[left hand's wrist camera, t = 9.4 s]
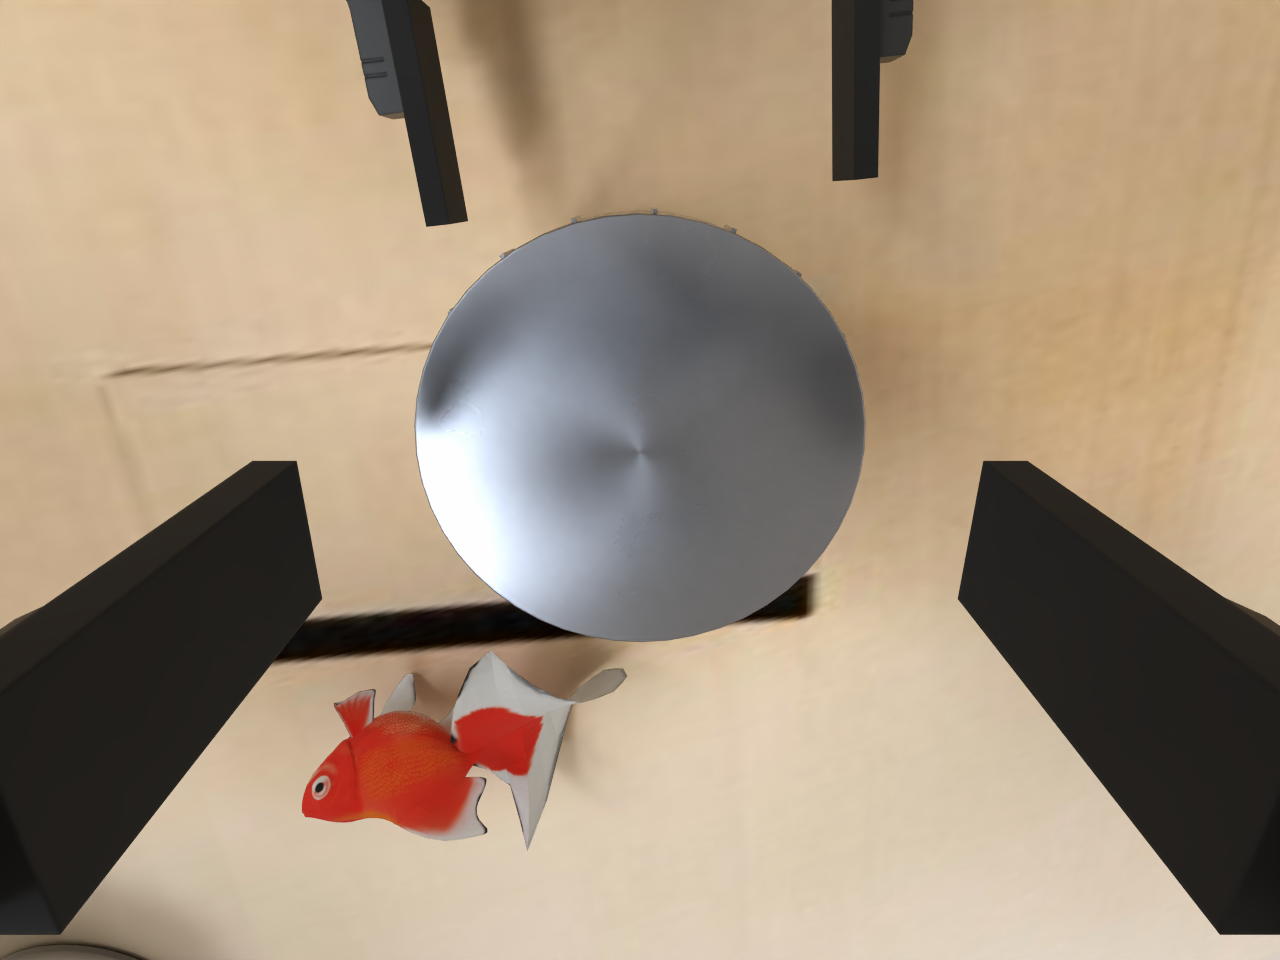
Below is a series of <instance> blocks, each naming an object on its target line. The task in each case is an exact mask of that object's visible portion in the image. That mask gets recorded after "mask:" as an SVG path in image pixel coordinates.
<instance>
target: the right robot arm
mask: <svg viewBox="0 0 1280 960" xmlns="http://www.w3.org/2000/svg"><path fill="white" fill-rule="evenodd" d="M346 1H347V3H348V5H349V9H350V12H351V17H352V21H353V26H354V31H355V35H356V40H357V45H358V50H359V54H360V59H361V61H362V63H361V64H362V68H363V73H364V76H365V82H366V87H367V92H368V96H369V99H370V101H371V102H372V104H373V106H374V108H375V109H376V111H377V113H378V114H379V115H380V116H384V117H387V118H390V119H400V118H405V122H406V127H407V132H408V137H409V142H410V147H411V152H412V157H413V162H414V167H415V172H416V177H417V182H418V187H419V192H420V197H421V202H422V207H423V212H424V217H425V222H426V227H428V226H437V225H446V224H453V223H459V222H465V221H468V218H467V213H466V207H465V201H464V196H463V190H462V185H461V179H460V173H459V168H458V162H457V157H456V151H455V145H454V140H453V134H452V129H451V123H450V118H449V112H448V106H447V101H446V95H445V90H444V84H443V78H442V73H441V67H440V62H439V56H438V50H437V45H436V39H435V34H434V28H433V22H432V17H431V11H430V7H429V6H427V5H426V4H425V3H424V2H423V1H422V0H346ZM912 11H913V0H832V168H833V181H842V180H857V179H866V178H876V177H878V143H879V84H880V63H887V62H891V61H893V60H895V59H897V58H899V57H901V56H903V55H905V53H906V50H907V48H908V45H909V42H910V39H911V37H912V25H913V14H912Z"/></svg>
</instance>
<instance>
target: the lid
mask: <svg viewBox="0 0 1280 960" xmlns="http://www.w3.org/2000/svg"><path fill="white" fill-rule="evenodd" d="M657 211H658V210H657V209H656V208H652V209H651V212H644V211H633V212H621V213H608V214H604V215H599V216H595V217H590V218H586V219H581V216H578V217H575V218H573V219H571V221H572V223H570V224H567V225H565V226H562V227H559V228H557V229H554V230H551V231H549V232H547V233H545V234H542V235H540V236H539V237H537V238H535V239H533V240H531V241H529V242H528V243H526V244H524V245H522V246H520V247H518V248H517V249H515V250H514V249H512V250H509V251H507V252H505V253H503V254H502V255H500V257H501V260H500V261H498V262H497V263H496V264H494V265H493V266H492V267H490V268H489V269H488V270H487V271H486V272H485V273H484V274H483V275H482V276H481V277H480V278H479V279H478V280H477V281H476V282H475V283H474V284H473V285H472V286H471V287H470V288H469V289H468V290H467V291H466V292H465V293H464V295H463V296H462V297H461V299H460V300H459V301H458V303H457V304H456V305H455V307H453V308H452V309H450V310H449V312H448V314H449V315H448V316H447V318H446V320H445V322H444V323H443V325H442V327H441V329H440V331H439V332H438V334H437V336H436V338H435V340H434V342H433V344H432V347H431V349H430V352H429V355H428V357H427V360H426V363H425V365H424V368H423V372H422V376H421V381H420V385H419V390H418V394H417V401H416V414H415V442H416V455H417V460H418V465H419V470H420V475H421V480H422V483H423V486H424V489H425V492H426V495H427V498H428V501H429V504H430V507H431V509H432V511H433V513H434V515H435V517H436V519H437V521H438V523H439V525H440V527H441V529H442V531H443V533H444V534H445V536H446V537H447V538H448V540H449V541H450V543H451V544H452V546H453V547H454V549H455V550H456V552H457V553H458V555H459V556H460V557H461V558H462V559H463V560H464V562H465V563H466V564H467V565H468V566H469V567H470V569H471V570H472V571H473V572H474V573H475V574H476V575H477V576H478V577H479V578H480V579H481V580H482V581H484V582H485V583H486V584H487V585H488V586H489V587H490V588H491V589H492V590H494V591H495V592H496V593H497V594H499V595H500V596H502V597H503V598H505V599H506V600H507V601H509V602H510V603H512V604H513V605H514V606H516V607H517V608H519V609H521V610H523V611H525V612H527V613H528V614H530V615H532V616H534V617H536V618H538V619H539V620H542V621H544V622H547V623H549V624H552V625H554V626H557V627H559V628H562V629H564V630H568V631H571V632H575V633H579V634H582V635H586V636H589V637H595V638H602V639H608V640H614V641H631V642H650V641H666V640H673V639H679V638H684V637H690V636H695V635H698V634H702V633H705V632H708V631H712V630H715V629H719V628H721V627H724V626H726V625H728V624H731V623H733V622H735V621H738V620H740V619H743V618H745V617H746V616H748V615H750V614H752V613H753V612H755V611H757V610H759V609H760V608H762V607H764V606H766V605H767V604H769V603H770V602H771V601H773V600H774V599H776V598H777V597H778V596H780V595H781V594H782V593H784V592H785V591H786V590H788V589H789V588H790V587H791V586H792V585H793V584H794V583H795V582H796V581H797V580H799V579H800V578H801V577H802V576H803V575H804V574H805V573H806V572H807V571H808V570H809V569H810V568H811V566H812V565H813V564H814V563H815V562H816V560H817V559H818V558H819V557H820V556H821V554H822V553H823V552H824V551H825V549H826V548H827V546H828V545H829V543H830V542H831V540H832V538H833V537H834V535H835V534H836V532H837V531H838V529H839V527H840V525H841V523H842V521H843V519H844V517H845V515H846V513H847V511H848V508H849V506H850V504H851V501H852V498H853V495H854V492H855V489H856V486H857V483H858V480H859V476H860V471H861V465H862V460H863V454H864V444H865V413H864V402H863V393H862V389H861V385H860V381H859V377H858V372H857V368H856V365H855V362H854V360H853V357H852V355H851V352H850V350H849V347H848V345H847V342H846V340H845V336H844V334H843V333H842V332H841V330H840V329H839V327H838V325H837V324H836V322H835V320H834V318H833V317H832V315H831V313H830V312H829V310H828V309H827V308H826V306H825V305H824V304H823V303H822V301H821V300H820V299H819V297H818V296H817V295H816V294H815V292H814V291H813V290H812V289H811V287H810V286H809V285H807V284H806V283H805V282H804V281H803V280H802V279H801V278H800V277H801V276H802V274H801V273H799V272H798V271H796V270H794V269H792V268H790V267H789V266H787V265H786V264H785V263H783V262H782V261H780V260H779V259H778V258H776V257H775V256H773V255H772V254H771V253H769V252H768V251H766V250H765V249H764V248H762V247H760V246H758V245H756V244H754V243H753V242H751V241H749V240H747V239H745V238H743V237H741V236H739V235H737V234H735V233H736V229H734V228H732V227H729V226H727V225H725V227H724V228H721V227H718V226H716V225H713V224H710V223H707V222H704V221H701V220H699V219H695V218H690V217H685V216H680V215H675V214H671V213H661V212H657Z"/></svg>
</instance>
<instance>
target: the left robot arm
mask: <svg viewBox="0 0 1280 960" xmlns="http://www.w3.org/2000/svg"><path fill="white" fill-rule="evenodd" d="M321 600H322V595H321V590H320V585H319V579H318V574H317V568H316V563H315V558H314V552H313V547H312V541H311V536H310V531H309V525H308V520H307V514H306V509H305V504H304V498H303V493H302V487H301V482H300V477H299V471H298V466H297V461H252V462H250V463H249V464H247V465H246V466H245V467H243V468H242V469H240V470H239V471H237V472H236V473H235V474H233V475H232V476H230V477H229V478H227V479H226V480H224V481H223V482H222V483H220V484H219V485H217V486H216V487H214V488H213V489H211V490H210V491H209V492H207V493H206V494H204V495H203V496H201V497H200V498H199V499H197V500H196V501H194V502H193V503H191V504H190V505H188V506H187V507H186V508H184V509H183V510H181V511H180V512H178V513H177V514H175V515H174V516H173V517H171V518H170V519H168V520H167V521H165V522H164V523H163V524H161V525H160V526H158V527H157V528H155V529H154V530H152V531H151V532H150V533H148V534H147V535H145V536H144V537H142V538H141V539H140V540H138V541H137V542H135V543H134V544H132V545H131V546H129V547H128V548H127V549H125V550H124V551H122V552H121V553H119V554H118V555H116V556H115V557H114V558H112V559H111V560H109V561H108V562H106V563H105V564H104V565H102V566H101V567H99V568H98V569H96V570H95V571H93V572H92V573H91V574H89V575H88V576H86V577H85V578H83V579H82V580H81V581H79V582H78V583H76V584H75V585H73V586H72V587H70V588H69V589H68V590H66V591H65V592H63V593H62V594H60V595H59V596H57V597H56V598H55V599H53V600H52V601H50V602H49V603H47V604H46V605H45V606H43V607H41V608H39V609H36V610H34V611H32V612H30V613H28V614H25V615H23V616H21V617H19V618H17V619H15V620H13V621H12V622H10V623H9V624H7V625H6V626H5V627H3V628H2V629H0V935H60V934H61V933H62V931H63V930H64V929H65V928H66V926H67V925H68V924H69V923H70V921H71V920H72V919H73V917H74V916H75V915H76V914H77V912H78V911H79V910H80V908H81V907H82V906H83V905H84V903H85V902H86V901H87V899H88V898H89V897H90V896H91V894H92V893H93V892H94V890H95V889H96V888H97V887H98V885H99V884H100V883H101V882H102V880H103V879H104V878H105V876H106V875H107V874H108V873H109V871H110V870H111V869H112V867H113V866H114V865H115V864H116V862H117V861H118V860H119V858H120V857H121V856H122V855H123V853H124V852H125V851H126V850H127V848H128V847H129V846H130V844H131V843H132V842H133V841H134V839H135V838H136V837H137V835H138V834H139V833H140V832H141V830H142V829H143V828H144V826H145V825H146V824H147V823H148V821H149V820H150V819H151V817H152V816H153V815H154V814H155V812H156V811H157V810H158V809H159V807H160V806H161V805H162V803H163V802H164V801H165V800H166V798H167V797H168V796H169V794H170V793H171V792H172V791H173V789H174V788H175V787H176V785H177V784H178V783H179V782H180V780H181V779H182V778H183V776H184V775H185V774H186V773H187V771H188V770H189V769H190V768H191V766H192V765H193V764H194V762H195V761H196V760H197V759H198V757H199V756H200V755H201V753H202V752H203V751H204V750H205V748H206V747H207V746H208V744H209V743H210V742H211V741H212V739H213V738H214V737H215V735H216V734H217V733H218V732H219V730H220V729H221V728H222V727H223V725H224V724H225V723H226V721H227V720H228V719H229V718H230V716H231V715H232V714H233V712H234V711H235V710H236V709H237V707H238V706H239V705H240V703H241V702H242V701H243V700H244V698H245V697H246V696H247V695H248V693H249V692H250V691H251V689H252V688H253V687H254V686H255V684H256V683H257V682H258V680H259V679H260V678H261V677H262V675H263V674H264V673H265V671H266V670H267V669H268V668H269V666H270V665H271V664H272V662H273V661H274V660H275V659H276V657H277V656H278V655H279V654H280V652H281V651H282V650H283V648H284V647H285V646H286V645H287V643H288V642H289V641H290V639H291V638H292V637H293V636H294V634H295V633H296V632H297V630H298V629H299V628H300V627H301V625H302V624H303V623H304V621H305V620H306V619H307V618H308V616H309V615H310V614H311V613H312V611H313V610H314V609H315V607H316V606H317V605H318V604H319V602H320V601H321ZM958 600H959V601H960V602H961V604H962V605H963V606H964V607H965V609H966V610H967V611H968V613H969V614H970V615H971V616H972V618H973V619H974V620H975V621H976V623H977V624H978V625H979V627H980V628H981V629H982V630H983V632H984V633H985V634H986V636H987V637H988V638H989V639H990V641H991V642H992V643H993V645H994V646H995V647H996V648H997V650H998V651H999V652H1000V654H1001V655H1002V656H1003V657H1004V659H1005V660H1006V661H1007V662H1008V664H1009V665H1010V666H1011V668H1012V669H1013V670H1014V671H1015V673H1016V674H1017V675H1018V677H1019V678H1020V679H1021V680H1022V682H1023V683H1024V684H1025V686H1026V687H1027V688H1028V689H1029V691H1030V692H1031V693H1032V695H1033V696H1034V697H1035V698H1036V700H1037V701H1038V702H1039V703H1040V705H1041V706H1042V707H1043V709H1044V710H1045V711H1046V712H1047V714H1048V715H1049V716H1050V718H1051V719H1052V720H1053V721H1054V723H1055V724H1056V725H1057V727H1058V728H1059V729H1060V730H1061V732H1062V733H1063V734H1064V735H1065V737H1066V738H1067V739H1068V741H1069V742H1070V743H1071V744H1072V746H1073V747H1074V748H1075V750H1076V751H1077V752H1078V753H1079V755H1080V756H1081V757H1082V759H1083V760H1084V761H1085V762H1086V764H1087V765H1088V766H1089V768H1090V769H1091V770H1092V771H1093V773H1094V774H1095V775H1096V776H1097V778H1098V779H1099V780H1100V782H1101V783H1102V784H1103V785H1104V787H1105V788H1106V789H1107V791H1108V792H1109V793H1110V794H1111V796H1112V797H1113V798H1114V800H1115V801H1116V802H1117V803H1118V805H1119V806H1120V807H1121V809H1122V810H1123V811H1124V812H1125V814H1126V815H1127V816H1128V817H1129V819H1130V820H1131V821H1132V823H1133V824H1134V825H1135V826H1136V828H1137V829H1138V830H1139V832H1140V833H1141V834H1142V835H1143V837H1144V838H1145V839H1146V841H1147V842H1148V843H1149V844H1150V846H1151V847H1152V848H1153V850H1154V851H1155V852H1156V853H1157V855H1158V856H1159V857H1160V858H1161V860H1162V861H1163V862H1164V864H1165V865H1166V866H1167V867H1168V869H1169V870H1170V871H1171V873H1172V874H1173V875H1174V876H1175V878H1176V879H1177V880H1178V882H1179V883H1180V884H1181V885H1182V887H1183V888H1184V889H1185V890H1186V892H1187V893H1188V894H1189V896H1190V897H1191V898H1192V899H1193V901H1194V902H1195V903H1196V905H1197V906H1198V907H1199V908H1200V910H1201V911H1202V912H1203V914H1204V915H1205V916H1206V917H1207V919H1208V920H1209V921H1210V923H1211V924H1212V925H1213V926H1214V928H1215V929H1216V930H1217V931H1218V933H1219V934H1220V935H1280V626H1279V625H1278V624H1276V623H1275V622H1273V621H1272V620H1270V619H1269V618H1267V617H1266V616H1264V615H1262V614H1259V613H1257V612H1255V611H1253V610H1251V609H1248V608H1246V607H1244V606H1242V605H1239V604H1237V603H1235V602H1233V601H1231V600H1228V599H1226V598H1224V597H1223V596H1221V595H1220V594H1218V593H1217V592H1215V591H1214V590H1212V589H1211V588H1210V587H1208V586H1207V585H1205V584H1204V583H1202V582H1201V581H1199V580H1198V579H1197V578H1195V577H1194V576H1192V575H1191V574H1189V573H1188V572H1187V571H1185V570H1184V569H1182V568H1181V567H1179V566H1178V565H1176V564H1175V563H1174V562H1172V561H1171V560H1169V559H1168V558H1166V557H1165V556H1164V555H1162V554H1161V553H1159V552H1158V551H1156V550H1155V549H1153V548H1152V547H1151V546H1149V545H1148V544H1146V543H1145V542H1143V541H1142V540H1140V539H1139V538H1138V537H1136V536H1135V535H1133V534H1132V533H1130V532H1129V531H1128V530H1126V529H1125V528H1123V527H1122V526H1120V525H1119V524H1117V523H1116V522H1115V521H1113V520H1112V519H1110V518H1109V517H1107V516H1106V515H1104V514H1103V513H1102V512H1100V511H1099V510H1097V509H1096V508H1094V507H1093V506H1092V505H1090V504H1089V503H1087V502H1086V501H1084V500H1083V499H1081V498H1080V497H1079V496H1077V495H1076V494H1074V493H1073V492H1071V491H1070V490H1069V489H1067V488H1066V487H1064V486H1063V485H1061V484H1060V483H1058V482H1057V481H1056V480H1054V479H1053V478H1051V477H1050V476H1048V475H1047V474H1045V473H1044V472H1043V471H1041V470H1040V469H1038V468H1037V467H1035V466H1034V465H1033V464H1031V463H1030V462H1028V461H983V466H982V471H981V477H980V482H979V487H978V493H977V498H976V504H975V509H974V514H973V520H972V525H971V531H970V536H969V541H968V547H967V552H966V558H965V563H964V568H963V574H962V579H961V585H960V590H959V595H958ZM1 960H138V959H135V958H133V957H130V956H127V955H124V954H121V953H118V952H114V951H110V950H106V949H101V948H96V947H89V946H80V945H47V946H39V947H33V948H29V949H25V950H22V951H19V952H16V953H13V954H11V955H9V956H6V957H5V958H3V959H1Z"/></svg>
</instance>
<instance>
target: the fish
mask: <svg viewBox="0 0 1280 960" xmlns="http://www.w3.org/2000/svg"><path fill="white" fill-rule="evenodd" d="M626 677H627V675H626V673H625V671H624V669H608V670H603V671H601V672H600V673H598V674H597V675H595V676H594V677H592V678H591V679H590V680H588V681H587V682H586V683H585V684H583V685H582V686H581V687H579V688H578V689H577V691H576V692H575V693H574V694H573V695H572V696H571V697H569V698H568V699H563V698H558V697H556V696H554V695H552V694H550V693H548V692H546V691H544V690H542V689H540V688H538V687H536V686H534V685H532V684H530V683H529V682H528V681H526V680H525V679H524V678H522V677H521V676H519V675H518V674H517V673H515V672H514V671H513V670H511V669H510V668H509V667H508V666H507V665H506V664H505V663H504V662H502V661H501V660H500V659H499V658H498V657H497V656H496V655H495V654H494V653H493V652H492V651H491V650H490V651H489V652H488V653H487V654H486V655H485V656H484V657H482V658H481V659H480V660H479V661H478V662H477V663H475V664H474V665H473V666H472V667H471V668H470V669H469V671H468V674H467V676H466V678H465V681H464V683H463V686H462V688H461V690H460V693H459V695H458V698H457V701H456V704H455V706H454V708H453V709H452V711H451V712H450V713H449V714H448V716H447V717H446V718H445V719H443V720H442V721H441V722H440V723H437V722H435V721H434V720H432V719H431V718H429V717H427V716H425V715H423V714H419V713H416V712H410V711H409V710H410V709H411V708H412V707H413V705H414V704H415V701H416V694H415V687H414V676H413V674H411V673H408V674H407V675H406V676H405V677H404V678H403V679H402V681H401V682H400V683H399V685H398V686H397V688H396V689H395V691H394V692H393V693H392V695H391V696H390V698H389V699H388V701H387V702H386V704H385V706H384V709H383V711H382V713H381V715H380V716H378V717H376V718H374V698H375V692H376V690H375V689H370V690H366V691H361V692H358V693H356V694H354V695H353V696H351V697H349V698H348V699H346V700H344V701H342V702H337V703H334V707H335V709H336V711H337V712H338V714H339V716H340V718H341V719H342V720H343V722H344V724H345V726H346V728H347V730H348V732H349V734H350V737H349V738H348V739H346V740H344V741H342V742H341V743H340V744H339V745H338V746H337V748H336V749H335V750H334V751H333V752H332V753H331V754H330V755H329V756H328V757H327V758H326V760H325V761H324V762H323V763H322V764H321V765H320V767H319V768H318V769H317V770H316V771H315V772H314V774H313V775H312V777H311V779H310V781H309V783H308V785H307V787H306V790H305V793H304V796H303V801H302V813H304V816H305V817H312V818H317V819H322V820H326V821H332V822H352V821H356V820H360V819H365V818H381V819H386V820H388V821H391V822H393V823H394V824H396V825H398V826H400V827H402V828H404V829H405V830H407V831H409V832H411V833H414V834H417V835H420V836H422V837H425V838H430V839H436V840H442V841H449V840H458V839H465V838H470V837H474V836H479V835H483V834H485V833H487V828H486V827H485V826H484V825H483V824H482V822H481V821H480V820H479V818H478V816H477V805H478V802H479V799H480V797H481V795H482V793H483V791H484V788H485V785H486V779H485V778H482V777H465V776H466V775H467V773H468V771H469V770H470V768H471V767H472V766H477V767H480V768H484V769H488V770H490V771H491V772H493V773H494V774H495V775H496V776H497V777H499V778H500V779H501V780H503V781H504V782H506V783H507V784H509V785H510V786H511V790H512V793H513V797H514V801H515V804H516V808H517V811H518V815H519V818H520V822H521V826H522V831H523V835H524V839H525V843H526V847H527V851H528V848H529V845H530V843H531V840H532V837H533V835H534V832H535V830H536V827H537V824H538V822H539V819H540V817H541V814H542V811H543V809H544V806H545V803H546V801H547V797H548V793H549V789H550V786H551V782H552V778H553V774H554V770H555V766H556V762H557V758H558V754H559V750H560V746H561V743H562V739H563V735H564V731H565V727H566V723H567V719H568V716H569V713H570V710H571V707H572V705H573V704H576V703H583V702H586V701H589V700H592V699H596V698H599V697H601V696H604V695H606V694H609V693H611V692H613V691H614V690H615V689H616V688H617V687H618V686H619V685H620V684H621V683H622V682H623V681H624V680H625V678H626Z"/></svg>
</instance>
